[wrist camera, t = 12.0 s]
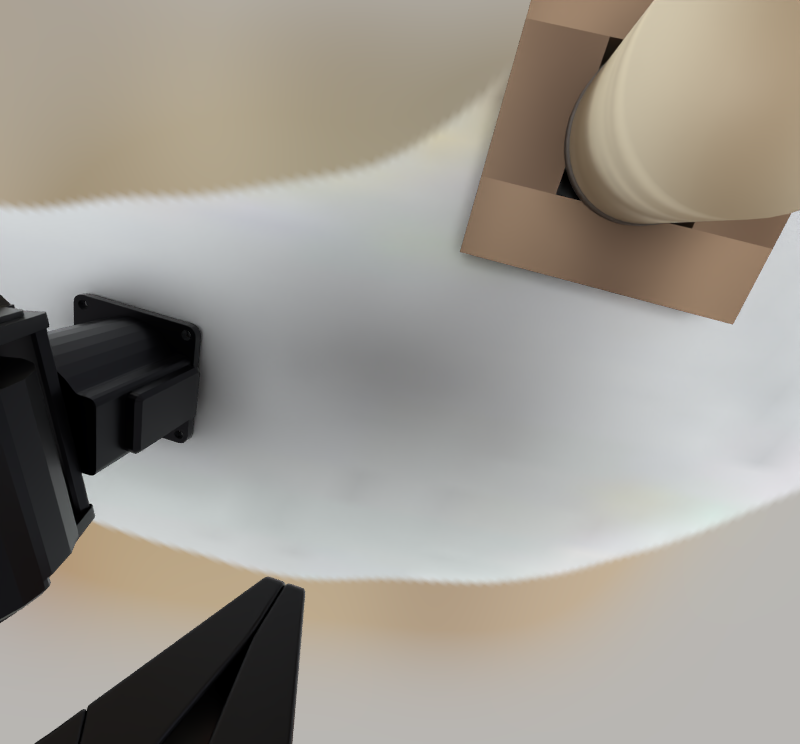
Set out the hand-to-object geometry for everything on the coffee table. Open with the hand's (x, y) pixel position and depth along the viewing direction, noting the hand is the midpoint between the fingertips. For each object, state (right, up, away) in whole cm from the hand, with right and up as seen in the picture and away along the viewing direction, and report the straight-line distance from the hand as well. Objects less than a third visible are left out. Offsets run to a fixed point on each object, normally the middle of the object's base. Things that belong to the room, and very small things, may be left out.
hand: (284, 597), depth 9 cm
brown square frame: (+11, +13, +7) cm, 18 cm away
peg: (+10, +13, +7) cm, 18 cm away
